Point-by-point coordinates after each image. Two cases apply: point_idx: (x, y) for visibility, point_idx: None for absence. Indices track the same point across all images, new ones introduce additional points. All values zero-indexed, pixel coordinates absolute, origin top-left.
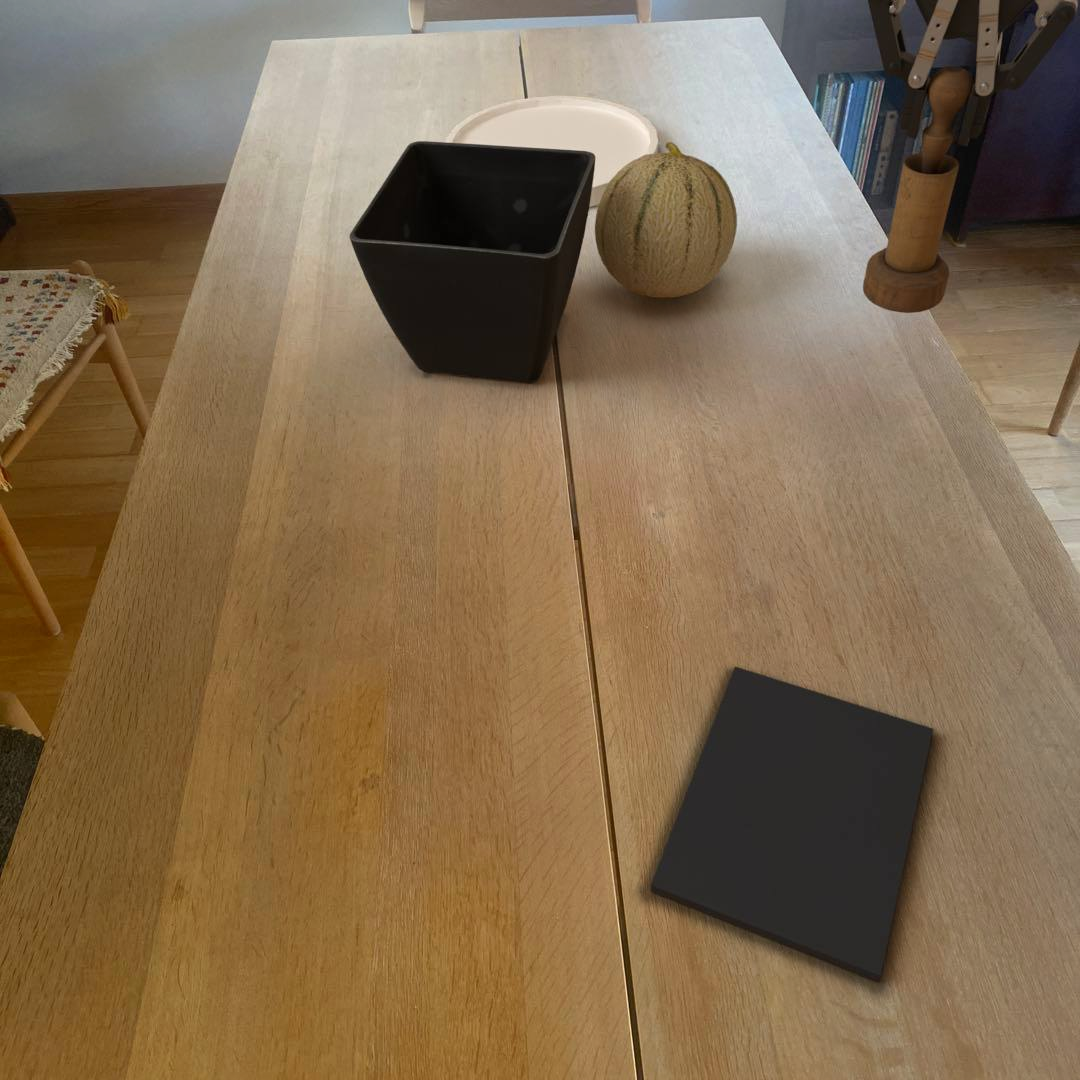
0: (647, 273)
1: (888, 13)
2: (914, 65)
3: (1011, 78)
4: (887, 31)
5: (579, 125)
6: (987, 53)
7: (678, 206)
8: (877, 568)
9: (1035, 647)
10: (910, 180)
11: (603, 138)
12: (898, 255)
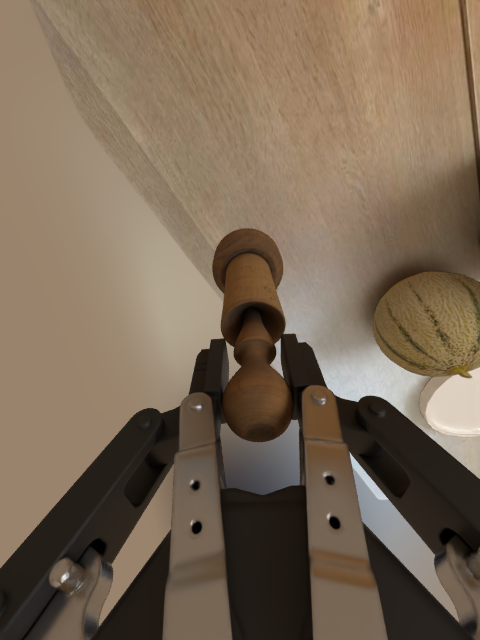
0: (438, 273)
1: None
2: (337, 419)
3: (149, 425)
4: (450, 485)
5: (474, 416)
6: (191, 463)
7: (447, 318)
8: (189, 42)
9: (57, 6)
10: (269, 296)
11: (458, 409)
12: (257, 259)
